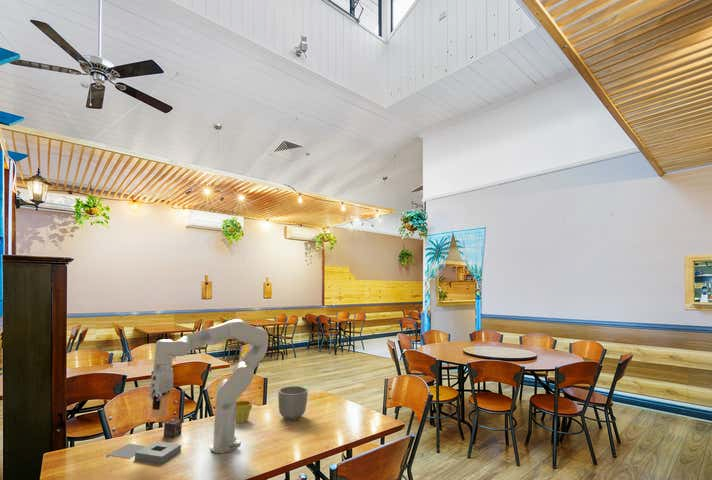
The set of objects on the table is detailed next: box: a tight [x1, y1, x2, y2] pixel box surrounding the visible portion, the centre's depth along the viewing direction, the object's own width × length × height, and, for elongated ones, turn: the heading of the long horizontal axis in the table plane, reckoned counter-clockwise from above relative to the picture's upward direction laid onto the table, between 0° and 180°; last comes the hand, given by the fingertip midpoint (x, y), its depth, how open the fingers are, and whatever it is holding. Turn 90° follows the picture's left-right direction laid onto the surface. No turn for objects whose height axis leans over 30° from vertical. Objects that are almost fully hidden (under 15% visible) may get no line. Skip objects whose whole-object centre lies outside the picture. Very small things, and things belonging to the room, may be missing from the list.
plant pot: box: [235, 400, 253, 424], centre depth 210 cm, size 10×10×10 cm
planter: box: [277, 385, 309, 422], centre depth 216 cm, size 17×17×16 cm
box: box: [163, 418, 183, 439], centre depth 188 cm, size 6×6×7 cm
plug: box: [150, 394, 169, 419], centre depth 169 cm, size 5×4×9 cm
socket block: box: [134, 440, 182, 465], centre depth 166 cm, size 14×12×4 cm
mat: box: [106, 443, 147, 459], centre depth 170 cm, size 12×12×1 cm
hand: (159, 407), depth 169 cm, fingers closed on plug, 3 cm apart
